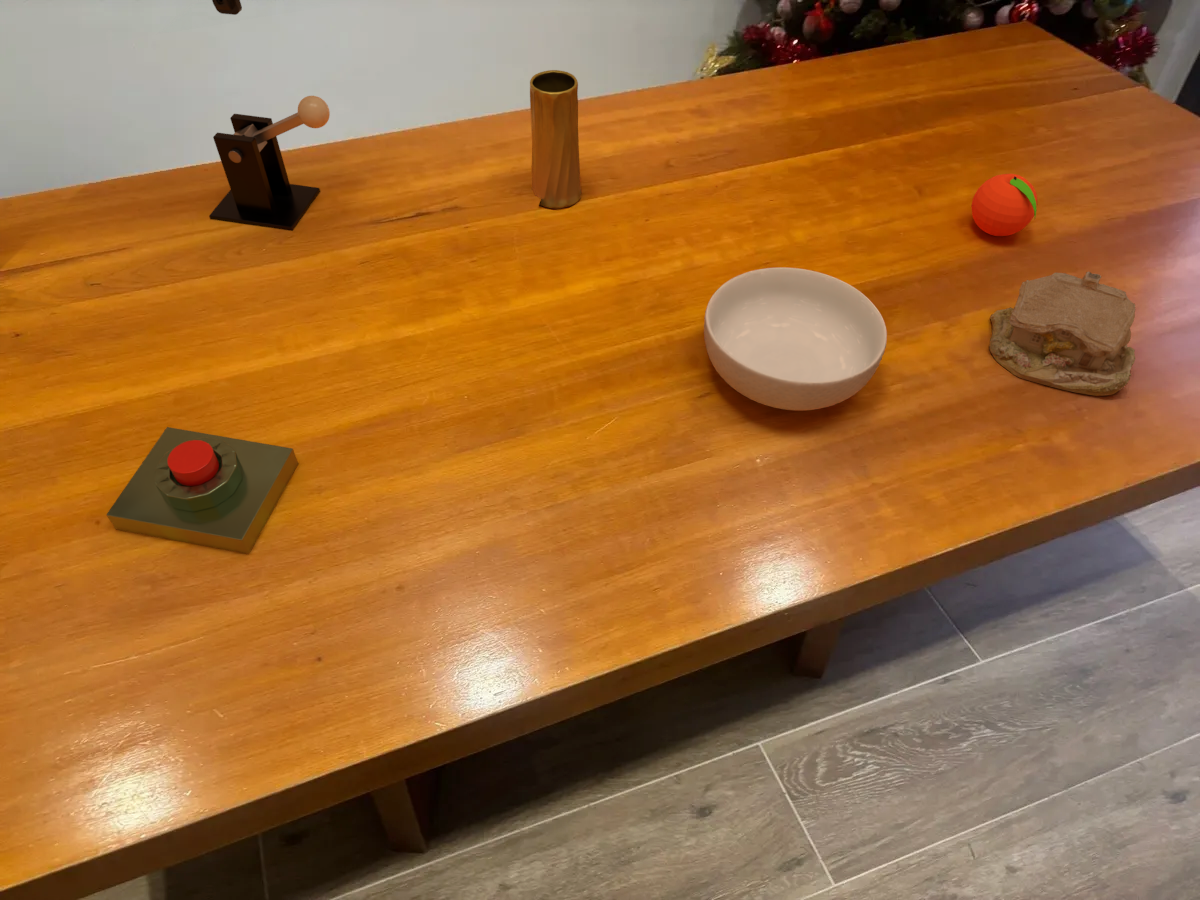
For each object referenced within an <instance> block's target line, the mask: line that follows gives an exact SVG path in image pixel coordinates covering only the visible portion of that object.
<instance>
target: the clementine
mask: <svg viewBox="0 0 1200 900" xmlns="http://www.w3.org/2000/svg"><path fill="white" fill-rule="evenodd" d="M1035 189H1036V188H1035V187H1034V186H1033V184H1032V183H1031V182H1030V181H1028V179H1026V177H1023V176H1021V175H1019V174H1015V173H1003V174H996V175H995V176H992V177H990V178H989V179H986V180H985V181H984V182H983V183H982V184H981V185H980V186H979V187H978V188H977V190H976V191H975V194H974V195H973V198H972V200H971V217H972V219H973V221H974V223H975V225H976V226H977V227H978V228H979V229H980V230H982V231H983V232H984V233H986V234H988V235H990V236H995V237H1008V236H1012V235H1015V234H1016V233H1019V232H1021V231H1022V230H1023V229H1025V228H1026V227H1027V226H1028V225H1029V224H1030V223H1031V222H1032V220H1033V219H1034V218H1037V217H1036V216H1037V208H1038V195H1037V192H1036V190H1035Z"/></svg>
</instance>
